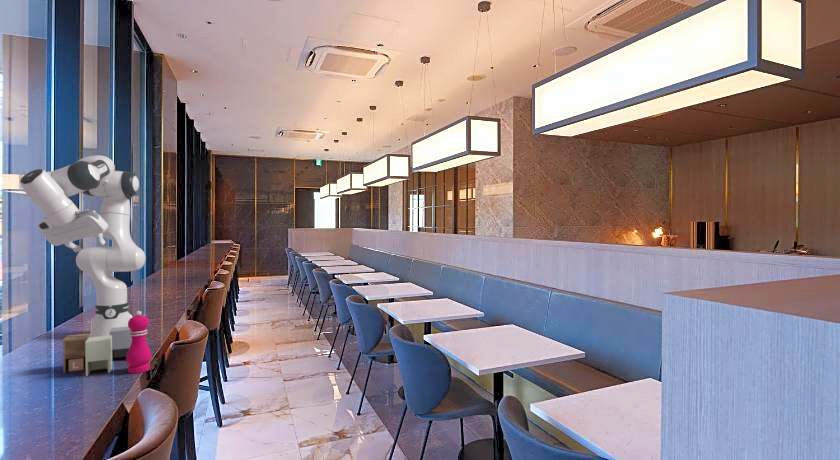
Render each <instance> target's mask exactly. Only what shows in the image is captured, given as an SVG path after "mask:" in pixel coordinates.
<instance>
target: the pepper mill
mask: <svg viewBox="0 0 840 460" xmlns="http://www.w3.org/2000/svg"><path fill="white" fill-rule="evenodd" d="M142 313H143V312H142V311H141V310H137V311H135V315H134V316H132V318H131V319H130V320H129V321H128V327H129V329H131V331H130V336H131V338H132V341H131V346H130V349H129V351H128V353H127V356H126V357H125V361H126V364H128V367H127V373H128V374H133V375H135V374H141V373H145V372H148V371H150V370H151V363H149V362H150V361H151V360H152V358H153V357H152V352H151V350H150V348H149V345H148V342H147V334H148V329H147V328H148V327H149V325H150V320H149V318H148V317H147V316H146V315H143V314H142Z"/></svg>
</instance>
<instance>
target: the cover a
mask: <svg viewBox="0 0 840 460" xmlns="http://www.w3.org/2000/svg"><path fill="white" fill-rule="evenodd" d="M90 334H91V332H90V333H80V334H79V333H78V334H68V335H66V336H65V337H64V338H63V339H62V364H63V365H62V368H63V369H62V370H63V372H62V373H63V374H66V373H67V371H69V359H72V358H80V357H85V368H84V370H85V371H86V349H85V342H86V341H87V339H88V338H90Z"/></svg>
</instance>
